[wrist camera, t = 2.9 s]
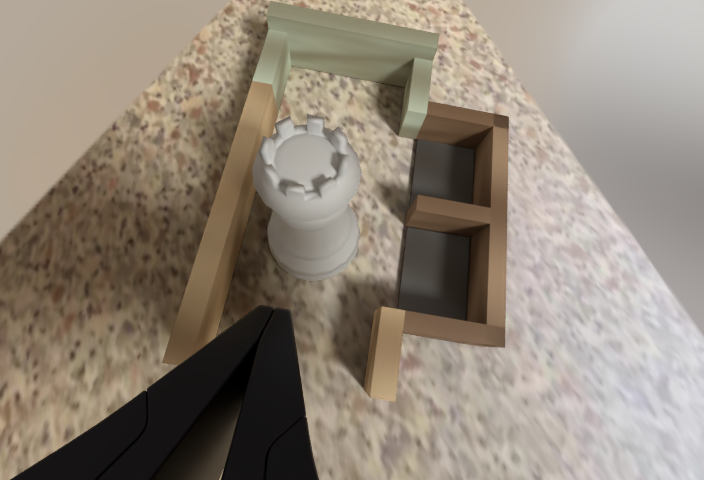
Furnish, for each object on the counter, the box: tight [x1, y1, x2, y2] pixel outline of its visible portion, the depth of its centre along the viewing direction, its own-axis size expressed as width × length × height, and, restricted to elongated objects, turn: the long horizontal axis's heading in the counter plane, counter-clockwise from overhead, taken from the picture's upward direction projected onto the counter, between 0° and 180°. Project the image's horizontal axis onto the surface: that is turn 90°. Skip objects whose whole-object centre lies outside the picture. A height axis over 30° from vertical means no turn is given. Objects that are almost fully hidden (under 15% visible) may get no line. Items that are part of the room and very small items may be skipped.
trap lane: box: [162, 1, 509, 402], centre depth 16 cm, size 18×13×3 cm
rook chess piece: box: [252, 114, 361, 281], centre depth 13 cm, size 4×4×8 cm
